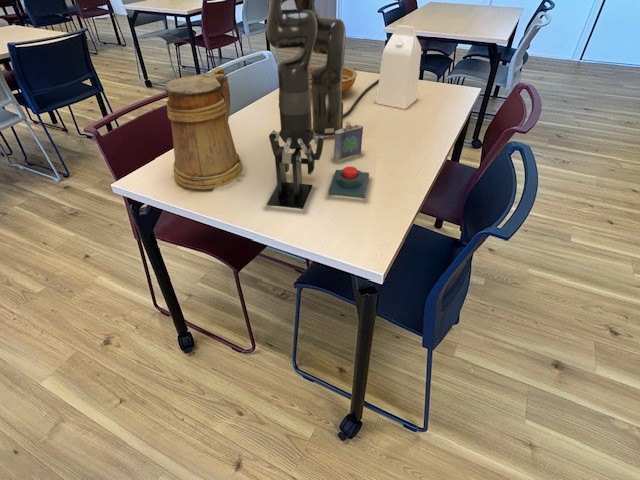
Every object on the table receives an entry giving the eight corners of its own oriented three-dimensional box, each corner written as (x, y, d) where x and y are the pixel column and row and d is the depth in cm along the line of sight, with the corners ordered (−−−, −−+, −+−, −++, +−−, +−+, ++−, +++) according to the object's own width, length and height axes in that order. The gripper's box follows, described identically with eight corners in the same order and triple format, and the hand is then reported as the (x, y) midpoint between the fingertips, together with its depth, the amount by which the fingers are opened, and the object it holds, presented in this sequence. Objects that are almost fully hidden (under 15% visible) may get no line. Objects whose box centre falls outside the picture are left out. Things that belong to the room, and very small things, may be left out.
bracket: (279, 185, 100) (275, 139, 92) (313, 188, 99) (312, 142, 90) (267, 208, 92) (261, 160, 84) (303, 212, 90) (301, 164, 82)
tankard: (161, 184, 100) (131, 88, 85) (210, 147, 118) (192, 61, 102) (220, 197, 96) (200, 97, 80) (262, 156, 113) (252, 67, 97)
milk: (416, 99, 149) (427, 25, 133) (404, 109, 142) (415, 30, 125) (388, 94, 154) (395, 21, 138) (375, 103, 147) (382, 27, 130)
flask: (336, 163, 109) (337, 127, 102) (331, 159, 111) (331, 124, 104) (362, 155, 113) (365, 120, 106) (357, 152, 114) (359, 117, 108)
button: (344, 171, 98) (344, 165, 97) (357, 173, 97) (358, 167, 96) (341, 178, 95) (342, 172, 94) (356, 180, 95) (356, 174, 94)
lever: (288, 164, 99) (288, 155, 99) (308, 166, 98) (309, 157, 98) (274, 162, 87) (275, 151, 87) (298, 164, 87) (299, 153, 86)
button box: (335, 176, 103) (336, 162, 101) (368, 179, 102) (369, 165, 99) (328, 197, 95) (328, 183, 93) (364, 201, 94) (365, 187, 91)
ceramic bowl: (343, 109, 141) (344, 87, 136) (284, 102, 148) (283, 80, 143) (364, 85, 163) (365, 65, 158) (312, 80, 169) (311, 60, 164)
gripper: (328, 104, 91) (327, 167, 101) (270, 100, 93) (276, 162, 104) (322, 115, 85) (322, 181, 96) (261, 111, 87) (267, 176, 98)
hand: (298, 171), depth 100 cm, fingers closed on lever, 5 cm apart
